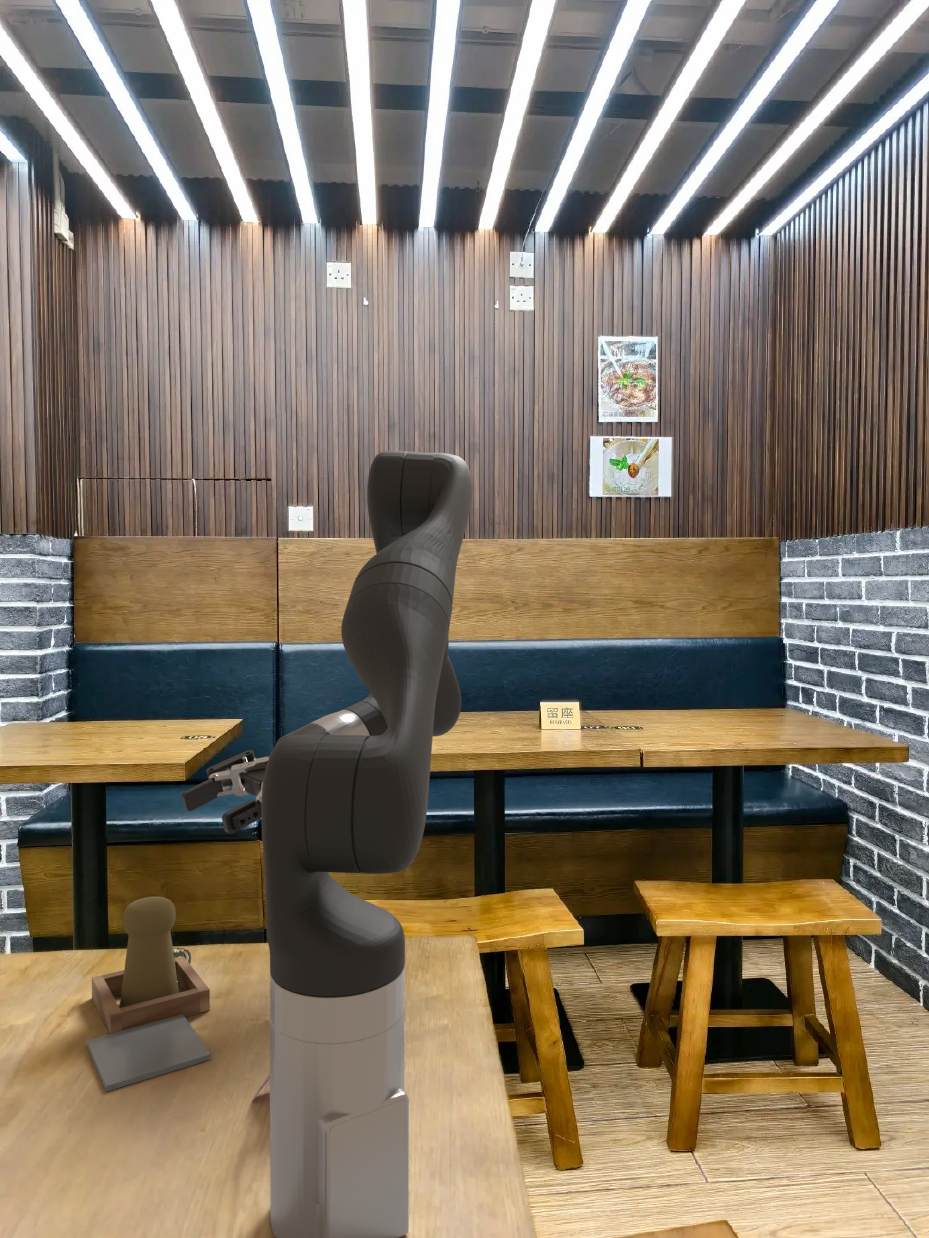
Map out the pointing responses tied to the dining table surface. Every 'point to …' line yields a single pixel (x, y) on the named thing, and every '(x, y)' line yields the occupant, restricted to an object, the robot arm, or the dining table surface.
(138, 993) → the cork
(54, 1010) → the dining table surface
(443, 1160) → the dining table surface
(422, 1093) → the dining table surface
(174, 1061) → the plate
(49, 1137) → the dining table surface
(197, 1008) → the caddy
